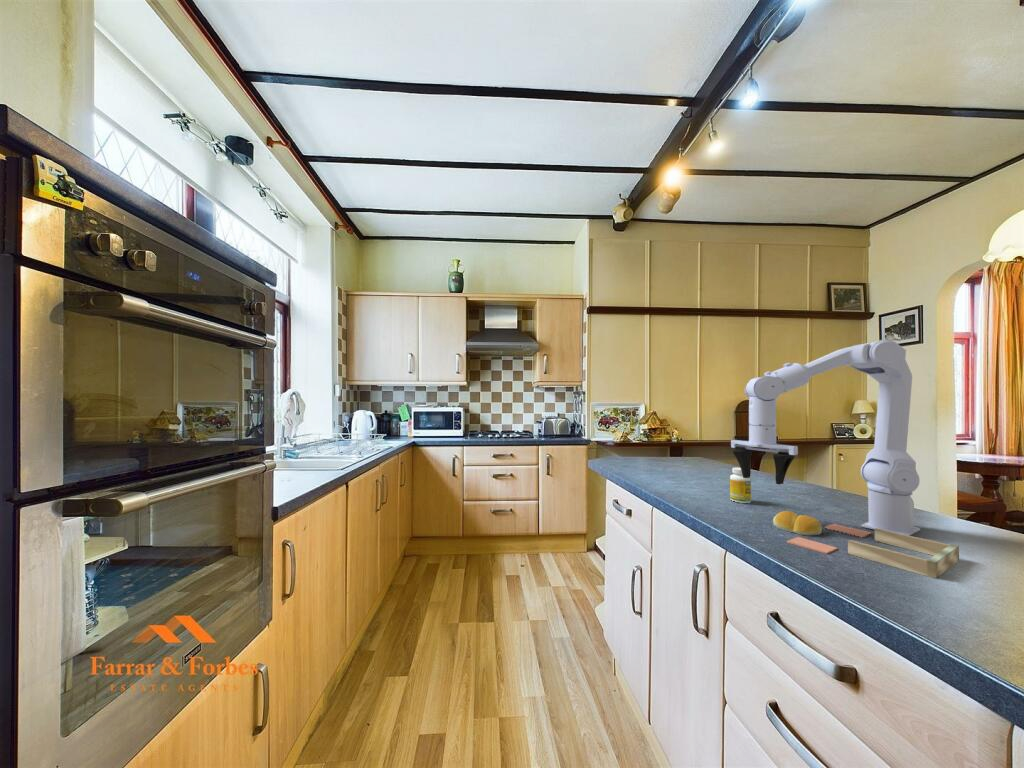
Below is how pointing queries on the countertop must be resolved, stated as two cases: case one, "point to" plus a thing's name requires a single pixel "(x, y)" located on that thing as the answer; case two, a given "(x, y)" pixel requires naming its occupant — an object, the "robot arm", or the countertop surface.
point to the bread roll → (797, 523)
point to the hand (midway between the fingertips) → (762, 480)
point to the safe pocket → (931, 567)
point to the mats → (823, 547)
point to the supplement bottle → (740, 487)
